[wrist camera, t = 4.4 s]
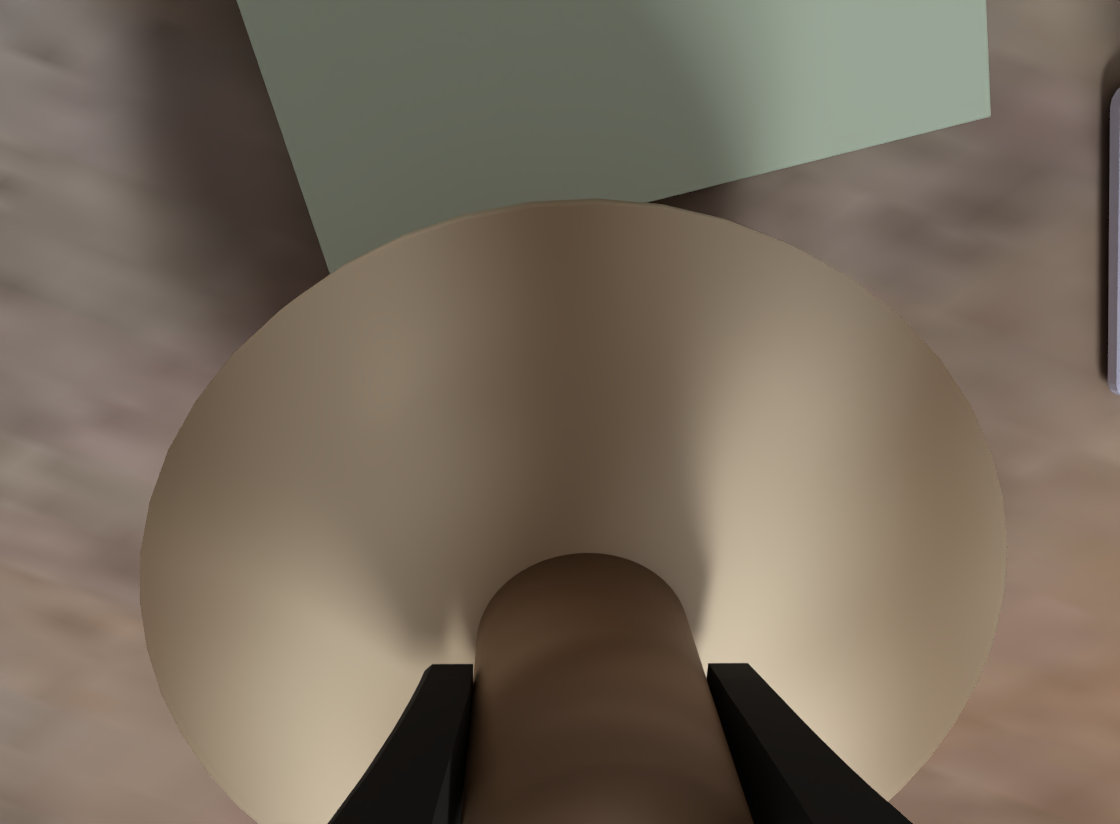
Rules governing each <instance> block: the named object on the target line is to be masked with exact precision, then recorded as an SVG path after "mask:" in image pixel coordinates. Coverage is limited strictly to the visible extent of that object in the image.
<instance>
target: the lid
mask: <svg viewBox="0 0 1120 824" xmlns="http://www.w3.org/2000/svg"><path fill="white" fill-rule="evenodd" d="M1007 548H1008V546H1007V534H1006V523H1005V512H1004V501H1003V496H1002V492H1001V488H1000V484H999V480H998V476H997V473H996V469H995V465H994V461H993V457H992V453H991V450H990V448H989V446H988V443H987V441H986V439H985V437H984V434H983V432H982V430H981V428H980V425H979V423H978V421H977V419H976V416H975V414H974V412H973V410H972V407H971V405H970V403H969V402H968V400H967V399H966V397H965V396H964V394H963V393H962V391H961V390H960V388H959V387H958V385H957V384H956V382H955V381H954V379H953V378H952V376H951V375H950V373H949V372H948V370H947V368H946V367H945V365H944V364H943V362H942V361H941V359H940V358H939V357H938V356H937V355H936V354H935V353H934V352H933V351H932V350H931V349H930V347H929V346H928V345H927V344H926V343H925V342H924V341H923V340H922V339H921V338H920V337H919V336H918V334H917V333H916V332H915V331H914V330H913V329H912V328H911V327H910V326H909V325H908V324H907V323H906V322H905V320H904V319H903V318H902V317H901V316H899V315H898V314H897V313H895V312H894V311H893V310H892V309H890V308H889V307H888V306H887V305H885V304H884V303H883V302H881V301H880V300H879V299H878V298H876V297H875V296H874V295H873V294H871V293H870V292H869V291H867V290H866V289H865V288H864V287H862V286H861V285H860V284H859V283H857V282H856V281H855V280H853V279H851V278H849V277H848V276H846V275H844V274H842V273H841V272H839V271H837V270H835V269H833V268H832V267H830V266H828V265H826V264H825V263H823V262H821V261H819V260H818V259H816V258H814V257H812V256H810V255H809V254H807V253H805V252H803V251H802V250H800V249H798V248H796V247H793V246H791V245H789V244H787V243H785V242H783V241H781V240H778V239H776V238H773V237H770V236H768V235H765V234H763V233H760V232H757V231H755V230H752V229H750V228H747V227H744V226H742V225H739V224H737V223H734V222H731V221H729V220H726V219H724V218H720V217H715V216H711V215H707V214H702V213H698V212H694V211H689V210H685V209H681V208H676V207H672V206H668V205H663V204H655V203H644V202H632V201H621V200H609V199H598V198H593V199H573V200H553V201H533V202H526V203H520V204H515V205H510V206H504V207H499V208H494V209H488V210H483V211H478V212H472V213H467V214H463V215H460V216H457V217H454V218H451V219H448V220H445V221H442V222H439V223H436V224H433V225H430V226H427V227H424V228H421V229H418V230H415V231H412V232H409V233H406V234H404V235H402V236H400V237H398V238H396V239H394V240H392V241H390V242H388V243H385V244H383V245H381V246H379V247H377V248H375V249H373V250H371V251H369V252H367V253H365V254H363V255H361V256H359V257H357V258H355V259H353V260H351V261H349V262H347V263H346V264H344V265H343V266H341V267H340V268H338V269H337V270H336V271H334V272H333V273H331V274H330V275H328V276H327V277H325V278H324V279H322V280H321V281H320V282H318V283H317V284H315V285H314V286H312V287H311V288H309V289H308V290H306V291H305V292H304V293H302V294H301V295H299V296H298V297H296V298H295V299H294V300H292V301H291V302H290V303H289V304H287V305H286V306H285V307H284V308H282V309H281V310H280V311H279V312H277V313H276V314H275V315H274V316H273V317H272V318H271V319H270V320H269V321H268V322H267V323H266V324H265V325H263V326H262V327H261V328H260V329H259V330H258V331H257V332H256V333H255V334H254V335H253V336H252V337H251V338H250V339H248V340H247V341H246V342H245V343H244V344H243V345H242V346H241V347H240V348H239V349H238V350H237V351H236V352H234V353H233V355H232V356H231V357H230V358H229V360H228V361H227V362H226V363H225V365H224V366H223V367H222V368H221V370H220V371H219V372H218V374H217V375H216V376H215V377H214V379H213V380H212V381H211V382H210V384H209V385H208V386H207V387H206V389H205V390H204V391H203V393H202V394H201V395H200V396H199V398H198V399H197V400H196V402H195V403H194V405H193V407H192V409H191V411H190V412H189V414H188V416H187V418H186V420H185V421H184V423H183V425H182V427H181V428H180V430H179V432H178V434H177V436H176V437H175V439H174V441H173V443H172V445H171V446H170V448H169V450H168V452H167V455H166V458H165V461H164V463H163V466H162V469H161V472H160V475H159V477H158V480H157V483H156V486H155V488H154V491H153V494H152V497H151V500H150V503H149V509H148V514H147V520H146V525H145V531H144V536H143V542H142V547H141V562H140V605H141V612H142V618H143V625H144V632H145V638H146V645H147V650H148V653H149V656H150V660H151V663H152V666H153V669H154V672H155V675H156V678H157V681H158V685H159V688H160V691H161V694H162V696H163V698H164V700H165V702H166V704H167V706H168V708H169V710H170V712H171V714H172V716H173V718H174V720H175V722H176V724H177V726H178V728H179V730H180V732H181V734H182V736H183V737H184V739H185V740H186V742H187V743H188V745H189V746H190V748H191V749H192V750H193V752H194V753H195V755H196V756H197V758H198V759H199V761H200V762H201V764H202V765H203V766H204V768H205V769H206V771H207V772H208V773H209V775H210V776H211V777H212V778H213V779H214V780H215V781H216V782H217V783H218V784H219V786H220V787H221V788H222V789H223V790H224V791H225V792H226V793H227V794H228V795H229V797H230V798H231V799H232V800H233V801H234V802H235V803H236V804H237V805H238V806H239V807H240V808H241V809H242V810H243V811H244V812H246V813H247V814H248V815H249V816H250V817H251V818H252V819H254V820H255V821H256V822H257V823H258V824H328V822H329V821H330V820H331V818H332V817H333V815H334V814H335V813H336V811H337V810H338V809H339V807H340V806H341V805H342V803H343V802H344V801H345V799H346V798H347V797H348V795H349V794H350V792H351V791H352V790H353V788H354V787H355V786H356V784H357V783H358V782H359V780H360V779H361V777H362V776H363V775H364V773H365V772H366V770H367V769H368V767H369V766H370V764H371V763H372V761H373V760H374V758H375V756H376V755H377V753H378V752H379V750H380V749H381V747H382V746H383V744H384V743H385V741H386V740H387V738H388V736H389V735H390V733H391V732H392V730H393V729H394V727H395V725H396V724H397V722H398V720H399V718H400V717H401V715H402V713H403V712H404V710H405V708H406V706H407V705H408V703H409V701H410V699H411V697H412V696H413V694H414V692H415V690H416V688H417V686H418V684H419V682H420V680H421V678H422V675H423V673H424V671H425V670H426V669H427V668H428V667H429V666H431V665H432V664H473V693H472V704H471V715H470V726H469V738H468V745H467V753H466V764H465V775H464V786H463V797H462V808H461V819H460V824H754V823H753V820H752V817H751V813H750V810H749V807H748V804H747V801H746V798H745V795H744V792H743V789H742V786H741V783H740V780H739V777H738V774H737V771H736V767H735V764H734V761H733V758H732V755H731V752H730V749H729V746H728V743H727V740H726V737H725V734H724V731H723V728H722V725H721V721H720V718H719V715H718V712H717V709H716V706H715V703H714V700H713V697H712V694H711V691H710V688H709V685H708V682H707V669H708V663H748V664H749V665H750V666H751V667H752V668H753V669H754V670H755V671H756V672H757V673H758V674H759V675H760V676H761V677H762V678H763V679H764V680H765V681H766V682H767V683H768V685H769V686H770V687H771V688H772V689H773V690H774V691H775V692H776V693H777V694H778V695H779V696H780V697H781V698H782V699H783V700H784V701H785V702H786V703H787V704H788V706H789V707H790V708H791V709H792V710H793V711H794V712H795V713H796V714H797V715H798V716H799V717H800V718H801V719H802V720H803V721H804V722H805V723H806V724H807V725H808V726H809V727H810V728H811V729H812V730H813V731H814V732H815V733H816V734H817V735H818V736H819V737H820V738H821V739H822V740H823V741H824V742H825V743H826V744H827V745H828V746H829V747H830V748H831V749H832V750H833V751H834V752H835V753H836V754H837V755H838V756H839V757H840V758H841V759H842V760H843V761H844V762H845V763H846V764H847V765H848V766H849V767H850V768H851V769H852V770H853V771H855V772H856V773H857V774H858V775H859V776H860V777H861V778H862V779H863V780H864V781H865V782H866V783H867V784H868V785H870V786H871V787H872V788H873V789H874V790H875V791H876V792H877V793H879V794H880V795H881V796H882V797H883V798H884V799H885V800H886V801H889V800H890V799H891V798H892V797H893V796H895V795H896V794H897V793H898V792H899V791H900V790H901V789H902V788H903V787H904V786H905V785H906V783H907V782H908V781H909V780H910V779H911V778H912V777H913V776H914V775H915V774H916V773H917V771H918V770H919V769H920V768H921V767H922V766H923V765H924V764H925V763H926V762H927V760H928V759H929V758H930V757H931V756H932V754H933V753H934V751H935V750H936V749H937V747H938V746H939V744H940V743H941V742H942V740H943V739H944V738H945V736H946V735H947V733H948V732H949V731H950V729H951V728H952V726H953V725H954V724H955V722H956V721H957V719H958V717H959V715H960V713H961V712H962V710H963V708H964V706H965V704H966V702H967V701H968V699H969V697H970V695H971V693H972V691H973V689H974V688H975V686H976V684H977V682H978V680H979V677H980V675H981V672H982V669H983V667H984V664H985V662H986V659H987V656H988V654H989V651H990V648H991V646H992V643H993V640H994V637H995V633H996V629H997V624H998V620H999V615H1000V611H1001V606H1002V602H1003V597H1004V592H1005V577H1006V563H1007Z"/></svg>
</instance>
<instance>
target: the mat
mask: <svg viewBox="0 0 1120 824" xmlns="http://www.w3.org/2000/svg"><path fill="white" fill-rule="evenodd" d="M237 3H238V6H239V9H240V12H241V15H242V18H243V21H244V24H245V27H246V30H247V33H248V35H249V38H250V41H251V44H252V47H253V50H254V53H255V56H256V59H257V62H258V65H259V68H260V71H261V74H262V76H263V79H264V82H265V85H266V88H267V91H268V94H269V97H270V100H271V103H272V106H273V109H274V112H275V115H276V118H277V120H278V123H279V126H280V129H281V132H282V135H283V138H284V141H285V144H286V147H287V150H288V153H289V156H290V159H291V161H292V164H293V167H294V170H295V173H296V176H297V179H298V182H299V185H300V188H301V191H302V194H303V197H304V200H305V203H306V205H307V208H308V211H309V214H310V217H311V220H312V223H313V226H314V229H315V232H316V235H317V238H318V241H319V244H320V246H321V249H322V252H323V255H324V258H325V261H326V264H327V267H328V270H329V273H330V274H331V273H333V272H334V271H336V270H337V269H338V268H340V267H341V266H343V265H344V264H346V263H347V262H349V261H351V260H353V259H355V258H357V257H359V256H361V255H363V254H365V253H367V252H369V251H371V250H373V249H375V248H377V247H379V246H381V245H383V244H385V243H388V242H390V241H392V240H394V239H396V238H398V237H400V236H402V235H404V234H406V233H409V232H412V231H415V230H418V229H421V228H424V227H427V226H430V225H433V224H436V223H439V222H442V221H445V220H448V219H451V218H454V217H457V216H460V215H463V214H467V213H472V212H478V211H483V210H488V209H494V208H499V207H504V206H510V205H515V204H520V203H526V202H533V201H553V200H573V199H593V198H598V199H609V200H621V201H632V202H644V203H647V202H651V201H655V200H659V199H663V198H667V197H671V196H675V195H679V194H683V193H687V192H691V191H695V190H699V189H703V188H707V187H711V186H715V185H719V184H723V183H727V182H731V181H735V180H739V179H743V178H747V177H751V176H755V175H759V174H763V173H767V172H771V171H775V170H779V169H783V168H787V167H791V166H795V165H799V164H803V163H807V162H811V161H815V160H819V159H823V158H827V157H831V156H835V155H839V154H843V153H847V152H851V151H854V150H858V149H862V148H866V147H870V146H874V145H878V144H882V143H886V142H890V141H894V140H898V139H902V138H906V137H910V136H914V135H918V134H922V133H926V132H930V131H934V130H938V129H942V128H946V127H950V126H954V125H958V124H962V123H966V122H970V121H974V120H978V119H982V118H986V117H990V116H991V111H990V87H989V63H988V40H987V16H986V0H237Z"/></svg>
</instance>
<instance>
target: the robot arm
mask: <svg viewBox="0 0 1120 824" xmlns="http://www.w3.org/2000/svg"><path fill="white" fill-rule="evenodd" d="M1108 385H1109V389H1110V390H1111V391H1112V392H1113V393H1115V394H1117V395H1120V87H1119V88H1118V89H1117V90H1116V92H1115V94H1114V96H1113V97H1112V100H1111V105H1110V176H1109V298H1108ZM707 682H708V685H709V688H710V691H711V694H712V697H713V700H714V703H715V706H716V709H717V712H718V715H719V718H720V721H721V725H722V728H723V731H724V734H725V737H726V740H727V743H728V746H729V749H730V752H731V755H732V758H733V761H734V764H735V767H736V771H737V774H738V777H739V780H740V783H741V786H742V789H743V792H744V795H745V798H746V801H747V804H748V807H749V810H750V813H751V817H752V820H753V823H754V824H913V823H911V822H910V821H909V820H908V819H907V818H906V817H905V816H903V815H902V814H901V813H900V812H899V811H898V810H897V809H895V808H894V807H893V806H892V805H891V804H890V803H889V802H888V801H886V800H885V799H884V798H883V797H882V796H881V795H880V794H879V793H877V792H876V791H875V790H874V789H873V788H872V787H871V786H870V785H868V784H867V783H866V782H865V781H864V780H863V779H862V778H861V777H860V776H859V775H858V774H857V773H856V772H855V771H853V770H852V769H851V768H850V767H849V766H848V765H847V764H846V763H845V762H844V761H843V760H842V759H841V758H840V757H839V756H838V755H837V754H836V753H835V752H834V751H833V750H832V749H831V748H830V747H829V746H828V745H827V744H826V743H825V742H824V741H823V740H822V739H821V738H820V737H819V736H818V735H817V734H816V733H815V732H814V731H813V730H812V729H811V728H810V727H809V726H808V725H807V724H806V723H805V722H804V721H803V720H802V719H801V718H800V717H799V716H798V715H797V714H796V713H795V712H794V711H793V710H792V709H791V708H790V707H789V706H788V704H787V703H786V702H785V701H784V700H783V699H782V698H781V697H780V696H779V695H778V694H777V693H776V692H775V691H774V690H773V689H772V688H771V687H770V686H769V685H768V683H767V682H766V681H765V680H764V679H763V678H762V677H761V676H760V675H759V674H758V673H757V672H756V671H755V670H754V669H753V668H752V667H751V666H750V665H749V664H748V663H708V669H707ZM472 693H473V664H432V665H431V666H429V667H428V668H427V669H426V670H425V671H424V673H423V675H422V678H421V680H420V682H419V684H418V686H417V688H416V690H415V692H414V694H413V696H412V697H411V699H410V701H409V703H408V705H407V706H406V708H405V710H404V712H403V713H402V715H401V717H400V718H399V720H398V722H397V724H396V725H395V727H394V729H393V730H392V732H391V733H390V735H389V736H388V738H387V740H386V741H385V743H384V744H383V746H382V747H381V749H380V750H379V752H378V753H377V755H376V756H375V758H374V760H373V761H372V763H371V764H370V766H369V767H368V769H367V770H366V772H365V773H364V775H363V776H362V777H361V779H360V780H359V782H358V783H357V784H356V786H355V787H354V788H353V790H352V791H351V792H350V794H349V795H348V797H347V798H346V799H345V801H344V802H343V803H342V805H341V806H340V807H339V809H338V810H337V811H336V813H335V814H334V815H333V817H332V818H331V820H330V821H329V822H328V824H460V819H461V808H462V797H463V786H464V775H465V764H466V753H467V745H468V738H469V726H470V715H471V704H472Z"/></svg>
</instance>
